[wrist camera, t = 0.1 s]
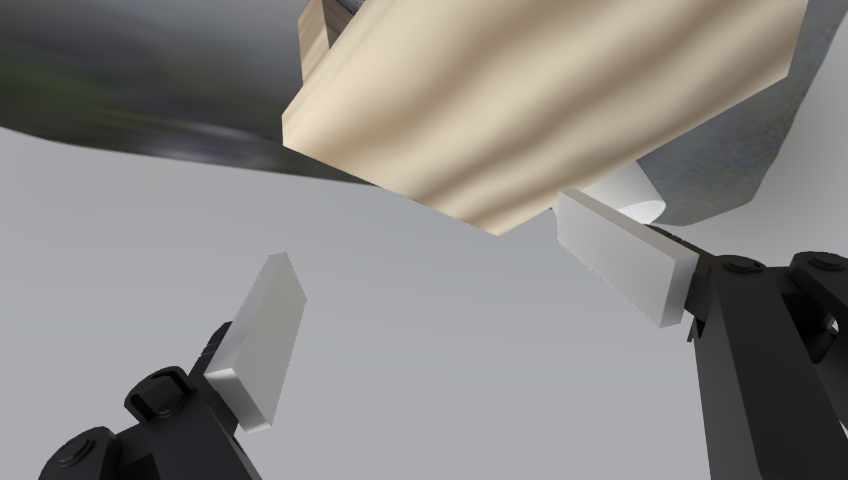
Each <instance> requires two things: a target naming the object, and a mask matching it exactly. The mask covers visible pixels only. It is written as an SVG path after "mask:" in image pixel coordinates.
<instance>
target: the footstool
mask: <svg viewBox="0 0 848 480" xmlns="http://www.w3.org/2000/svg"><path fill="white" fill-rule="evenodd" d="M808 1H809V0H365V2H364V3H363V5H362V6H361V7H360V9H359V10H358V11H357V13H356V14H355V16H354V15H353V14H351V13H350V12H349V11H348V10H347V9H346V8H344V7H343V6H342V5H341V4H340V3H339V2H338V1H336V0H310V1H309V3H308V5H307V6H306V8H305V9H304V11H303V13H302V14H301V16H300V17H299V19H298V32H299V43H300V53H301V64H302V75H303V87H302V89H301V90H300V91H299V93H298V94H297V95H296V97H295V98H294V100H293V101H292V102H291V104H290V105H289V106H288V108H287V109H286V111H285V112H284V113H283V115H282V126H283V146H286V147H288V148H290V149H293V150H295V151H297V152H300V153H302V154H304V155H307V156H309V157H312V158H314V159H316V160H319V161H321V162H323V163H326V164H328V165H331V166H333V167H335V168H338V169H340V170H342V171H345V172H347V173H349V174H352V175H354V176H357V177H359V178H361V179H364V180H366V181H368V182H371V183H373V184H376V185H378V186H380V187H383V188H385V189H387V190H390V191H392V192H395V193H397V194H399V195H402V196H404V197H406V198H409V199H411V200H413V201H416V202H418V203H421V204H423V205H425V206H428V207H430V208H433V209H435V210H437V211H440V212H442V213H445V214H447V215H449V216H451V217H454V218H456V219H459V220H461V221H464V222H466V223H468V224H470V225H473V226H475V227H478V228H480V229H482V230H485V231H487V232H490V233H492V234H494V235H497V236H500V235H502V234H503V233H505V232H507V231H509V230H511V229H513V228H515V227H516V226H518V225H520V224H522V223H523V222H525V221H527V220H529V219H530V218H533V217H534V216H536V215H538V214H540V213H541V212H543V211H545V210H547V209H549V208H551V207H552V206H554V205H556V204H558V199H559V191H561V190H565V189H570V188H575V189H577V190H579V191H581V190H583V189H585V188H587V187H588V186H590V185H592V184H594V183H596V182H597V181H599V180H601V179H603V178H605V177H606V176H608V175H610V174H612V173H614V172H615V171H617V170H619V169H621V168H623V167H624V166H626V165H628V164H630V163H632V162H633V161H635V160H637V159H639V158H641V157H642V156H644V155H646V154H648V153H650V152H651V151H653V150H655V149H657V148H659V147H660V146H662V145H664V144H666V143H668V142H669V141H671V140H673V139H675V138H677V137H678V136H680V135H682V134H684V133H686V132H687V131H689V130H691V129H693V128H695V127H696V126H698V125H700V124H702V123H704V122H705V121H707V120H709V119H711V118H713V117H714V116H716V115H718V114H720V113H722V112H723V111H725V110H727V109H729V108H731V107H732V106H734V105H736V104H738V103H740V102H741V101H743V100H745V99H747V98H749V97H750V96H752V95H754V94H756V93H758V92H760V91H761V90H763V89H765V88H767V87H769V86H770V85H772V84H774V83H776V82H778V81H779V80H781V79H783V78H785V77H787V75H788V71H789V68H790V64H791V61H792V57H793V54H794V50H795V47H796V43H797V40H798V36H799V33H800V29H801V26H802V22H803V19H804V15H805V12H806V8H807V5H808Z"/></svg>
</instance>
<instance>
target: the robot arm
mask: <svg viewBox="0 0 848 480" xmlns="http://www.w3.org/2000/svg"><path fill="white" fill-rule="evenodd" d="M557 232H558V233H557V241H558V242H559V243H561V244H562V245H563V246H564V247H565V248H566V249H568V250H569V251H570V252H571V253H572V254H573V255H575V256H576V257H577V258H578V259H579V260H580V261H581V262H583V263H584V264H585V265H586V266H587V267H588V268H590V269H591V270H592V271H593V272H595V274H597V275H598V276H599V277H600V278H601V279H602V280H604V281H605V282H606V283H607V284H608V285H609V286H611V287H612V288H613V289H614V290H615V291H616V292H618V293H619V294H620V295H621V296H622V297H623V298H625V299H626V300H627V301H628V302H629V303H631V304H632V305H633V306H634V307H635V308H636V309H637V310H638V311H640V312H641V313H642V314H643V315H644V316H646V317H647V318H648V319H649V320H650V321H651V322H652V323H654V324H655V325H656V326H657V327H658V328H663V327H667V326H671V325H675V324H679V323H681V319H682V315H683V312H684V309H685V310H687V311H688V312H690V313H691V314H692V315H694V319H693V323H692V326H691V329H690V332H689V336H688V339H687V342H691V341H692V338H694V346H695V354H696V362H697V370H698V379H699V387H700V394H701V402H702V411H703V419H704V426H705V434H706V443H707V451H708V459H709V467H710V475H711V480H848V438H847V436H846V434H845V432H844V430H843V428H842V425H841V423H842V424H843V425H844V426H845V428H846V429H847V430H848V259H847V258H844V257H841V256H839V255H837V254H833V253H830V254H829V253H828V252H813V251H808V252H800V253H797V254H795V255H794V257H793V259H792V261H791V264H790V266H789V267H766V266H765V265H764V264H762V263H760V262H758V261H756V260H753V259H750V258H747V257H742V256H737V255H720V256H714V255H712V254H710V253H708V252H706V251H704V250H702V249H700V248H698V247H696V246H694V245H692V244H690V243H688V242H686V241H684V240H683V241H682V239H681V238H679V237H677V236H675V235H672V234H671V233H669V232H667V231H665V230H663V229H661V228H659V227H655V226H651V225H648V224H641V223H639V222H637V221H635V220H634V219H632V218H630V217H628V216H626V215H624V214H622V213H620V212H619V211H617V210H615V209H613V208H611V207H609V206H607V205H605V204H604V203H602V202H600V201H598V200H596V199H594V198H592V197H590V196H589V195H587V194H585V193H583V192H581V191H579V190H577V189H575V188H570V189H565V190H561V191H559V199H558V231H557ZM306 299H307V298H306V296H305V294H304V292H303V289H302V287H301V285H300V282H299V280H298V278H297V276H296V273H295V271H294V269H293V266H292V264H291V262H290V260H289V257H288V255H287V253H286V252H283V253H279V254H274V255H270V256H269V257H268V259H267V261H266V263H265V264H264V266H263V268H262V270H261V272H260V273H259V276H258V277H257V279H256V281H255V283H254V284H253V286H252V288H251V290H250V292H249V293H248V295H247V297H246V299H245V300H244V302H243V304H242V306H241V308H240V309H239V311H238V313H237V315H236V317H235V319H234V320H233V321H231V322H226V323H224V324H223V325H222V326H221V327H220V328H219V329H218V330H217V331H216V332H215V333H214V334H213V336H212V337H211V339H210V340H209V342H208V344H207V347H206V348H205V349H204V350H203V352H202V353H201V357H199V358H198V360H197V362H196V363H195V365H194V367H193V368H192V370H191V372H190V373H189V375H188V376H187V374H186V373H185V372H184V370H183V369H182V368H180V367H178V366H171V367H167V368H163V369H160V370H158V371H156V372H154V373H153V374H151V375H149V376H147V377H146V378H145V379H143V380H142V381H140V382H139V383H138V384H137V385H136V386H135V387H134V388H133V389H132V390H131V391H130V392H129V394H128V396H127V397H126V399H125V403H124V407H125V408H126V409H127V410H128V411H129V412H130V413H131V414H132V415H133V416H134V417H135V418H136V419H137V420H138V421H139V422H140V423H139V424H137V425H135V426H133V427H130V428H129V429H127V430H124V431H122V432H120V433H118V434H116V435H115V434H114V433H113V432H112V431H110V430H109V429H108V428H106V427H104V426H101V427H95V428H92V429H90V430H87V431H85V432H83V433H81V434H79V435H78V436H76V437H75V438H72V439H71V440H70V441H68V442H67V443H66V444H65V445H63V446H62V447H61V448H59V449H58V450H57V452H56V453H55V454H54V455H53V456H52V457H51V458H50V459H49V460H48V461H47V463H46V465H45V466H44V468H43V470H42V471H41V474H40V476H39V479H38V480H262V478H261V477H260V475H259V474H258V472H257V470H256V469H255V467H254V466H253V465H252V463H251V461H250V459H249V458H248V457H247V455H246V453H245V452H244V450H243V448H242V447H241V445H240V444H239V442H238V441H237V439H236V438H235V437H234V433H235V430H236V428H237V425H238V423H239V424H240V425H241V427H242V428H243V429H244V431H245V432H246V433H251V432H255V431H259V430H263V429H267V428H270V427H271V426H272V422H273V419H274V415H275V412H276V408H277V404H278V401H279V397H280V394H281V390H282V386H283V383H284V379H285V375H286V372H287V368H288V365H289V361H290V357H291V354H292V350H293V346H294V343H295V339H296V336H297V332H298V328H299V324H300V321H301V318H302V314H303V311H304V306H305V303H306ZM835 320H836V322H837V324H838V331H837V330H836V329H835V328H833V327H832V325H833V324H834V322H835ZM839 420H840V421H841V423H840V421H839Z"/></svg>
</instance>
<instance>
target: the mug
mask: <svg viewBox="0 0 848 480" xmlns="http://www.w3.org/2000/svg"><path fill="white" fill-rule="evenodd" d="M581 192H583V193H585V194H587V195H589V196H590V197H592V198H594V199H596V200H598V201H600V202H602V203H604V204H605V205H607V206H609V207H611V208H613V209H615V210H617V211H619V212H620V213H622V214H624V215H626V216H628V217H630V218H632V219H634V220H635V221H637V222H639V223H641V224H649V223H651V222H652V221H653V220H655V219H656V218H657V217H658V216H659V215H660V214H661V213H662V212H663V211H664V209H665V207H666V204H665V202H664V201H663V199H662V198H661V196H660V195H659V194H658V192H657V191H656V189H655V188H654V186H653V185H652V183H651V182H650V181H649V179H648V178H647V176H646V175H645V173H644V172H643V170H642V169H641V168H640V166H639V165H638V163H637V162H636V160H635V161H633V162H632V163H630V164H628V165H626V166H624V167H623V168H621V169H619V170H617V171H615V172H614V173H612V174H610V175H608V176H606V177H605V178H603V179H601V180H599V181H597V182H596V183H594V184H592V185H590V186H588V187H587V188H585V189H583V190H581ZM552 209H553V211H554V213H555V215H556V217H557V219H558V204H556V205H554V206H552Z"/></svg>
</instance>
